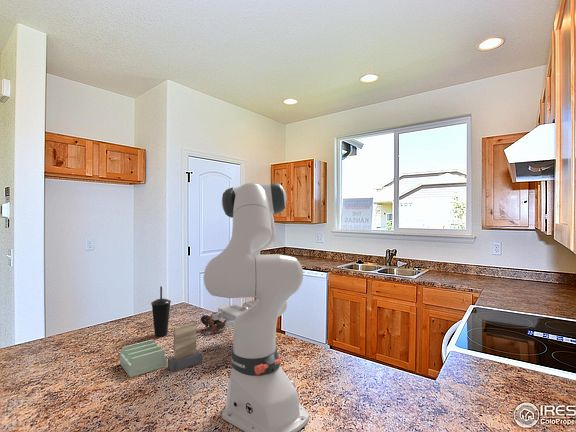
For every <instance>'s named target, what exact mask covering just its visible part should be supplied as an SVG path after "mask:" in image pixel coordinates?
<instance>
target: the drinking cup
mask: <svg viewBox="0 0 576 432" xmlns="http://www.w3.org/2000/svg"><path fill="white" fill-rule="evenodd" d="M159 290H160V292H159V295H160V296H159V297H160V298H158V299H155V300H153V301H151V302H150V305H151V309H152V310H151V311H152V320H153V329H154V336H155V337H156V338H157V337H158V338H161V337H166V336H167V335H168V332H169V322H170V321H169V320H170V309H171V303H172V300H170V299H167V298H163V286H162V285H161V286H160V287H159Z"/></svg>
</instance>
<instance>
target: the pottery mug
mask: <svg viewBox="0 0 576 432" xmlns="http://www.w3.org/2000/svg"><path fill="white" fill-rule="evenodd" d="M217 313H218V311H215V312H213V313H211V314H210V315H208V314H203V315H202V316H201V317H200V322H201V323H202V324H203V325H204V326H205V328H208V327H209V328H211V333H213V334H215V333H217V332H218V331H220V330H222V329H224V328H225V327H226V326H225V322H226V321H227V320H225V319H224V321H223V320H220V318H218V320H213V319H212V315H214V314H217ZM216 331H217V332H216Z"/></svg>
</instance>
